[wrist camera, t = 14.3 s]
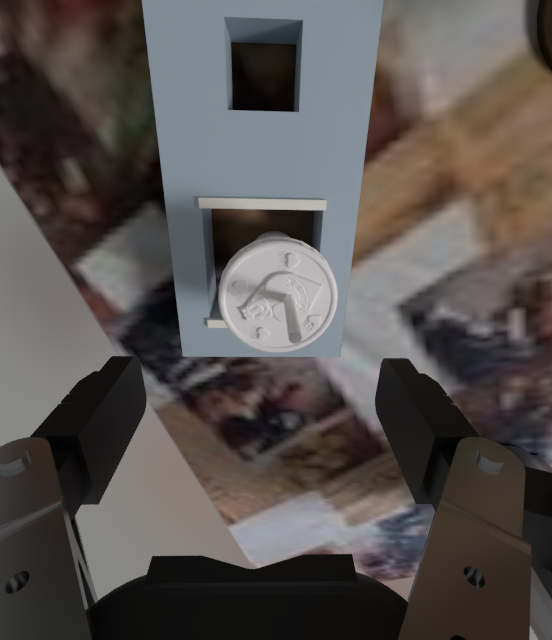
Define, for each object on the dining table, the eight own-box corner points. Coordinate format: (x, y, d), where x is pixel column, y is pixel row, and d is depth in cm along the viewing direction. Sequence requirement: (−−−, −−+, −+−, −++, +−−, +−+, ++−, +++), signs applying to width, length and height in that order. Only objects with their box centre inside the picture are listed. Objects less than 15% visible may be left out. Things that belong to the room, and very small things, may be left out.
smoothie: (324, 276, 27) (377, 377, 14) (251, 303, 28) (241, 422, 15) (298, 198, 24) (334, 239, 12) (218, 231, 25) (173, 302, 13)
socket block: (369, -42, 19) (396, -93, 15) (330, 332, 29) (341, 358, 25) (156, -52, 19) (127, -108, 15) (193, 332, 29) (181, 358, 25)
